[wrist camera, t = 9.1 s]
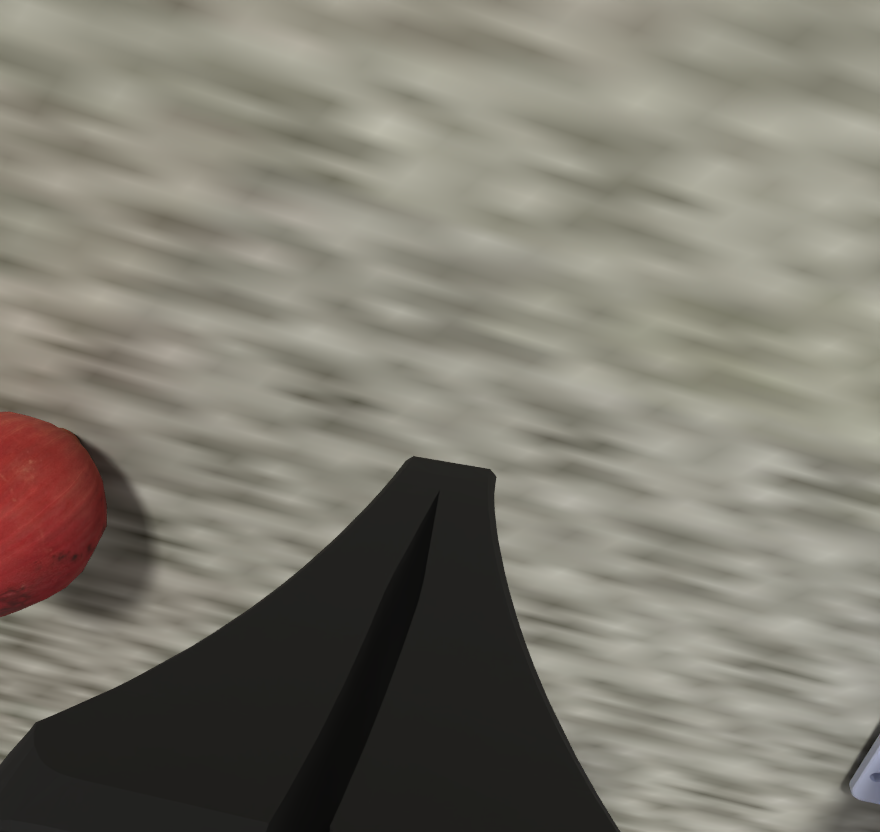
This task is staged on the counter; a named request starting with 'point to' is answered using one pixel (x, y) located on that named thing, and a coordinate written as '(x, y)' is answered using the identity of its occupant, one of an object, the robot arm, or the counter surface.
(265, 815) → the robot arm
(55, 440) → the red rounded piece
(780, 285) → the counter surface
